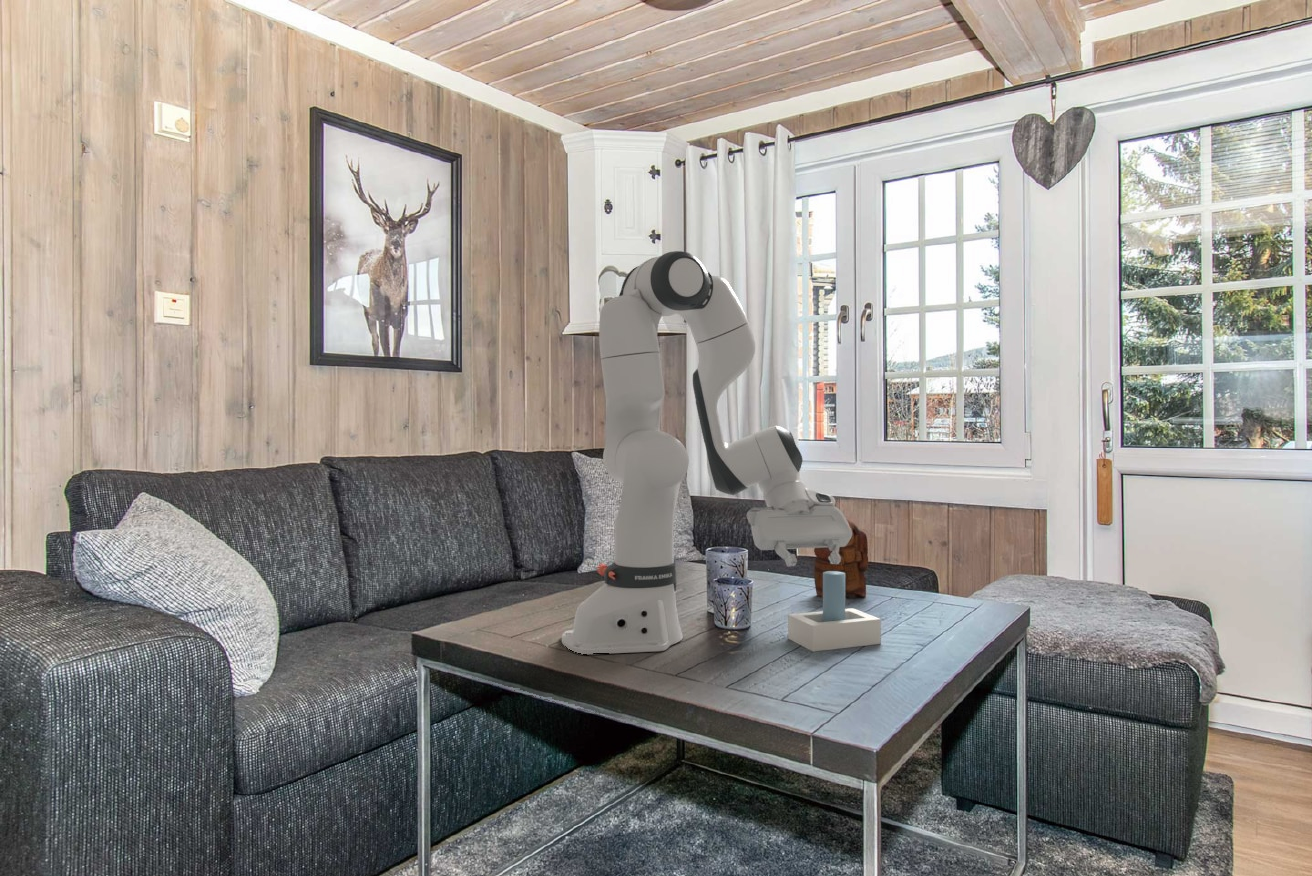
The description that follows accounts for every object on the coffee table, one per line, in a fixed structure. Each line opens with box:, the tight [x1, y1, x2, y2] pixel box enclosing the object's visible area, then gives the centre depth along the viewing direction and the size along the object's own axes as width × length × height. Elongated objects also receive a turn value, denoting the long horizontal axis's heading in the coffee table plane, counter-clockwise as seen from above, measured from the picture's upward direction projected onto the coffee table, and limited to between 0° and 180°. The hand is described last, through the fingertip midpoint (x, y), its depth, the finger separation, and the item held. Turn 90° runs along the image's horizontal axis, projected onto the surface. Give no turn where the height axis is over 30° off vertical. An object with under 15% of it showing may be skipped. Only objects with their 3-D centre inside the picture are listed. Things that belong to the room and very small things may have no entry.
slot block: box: [787, 607, 882, 653], centre depth 144 cm, size 14×9×4 cm, turn 109°
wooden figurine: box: [813, 518, 869, 599], centre depth 182 cm, size 12×6×18 cm, turn 97°
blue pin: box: [822, 571, 846, 622], centre depth 144 cm, size 4×4×12 cm
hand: (814, 563), depth 150 cm, fingers open, 8 cm apart
